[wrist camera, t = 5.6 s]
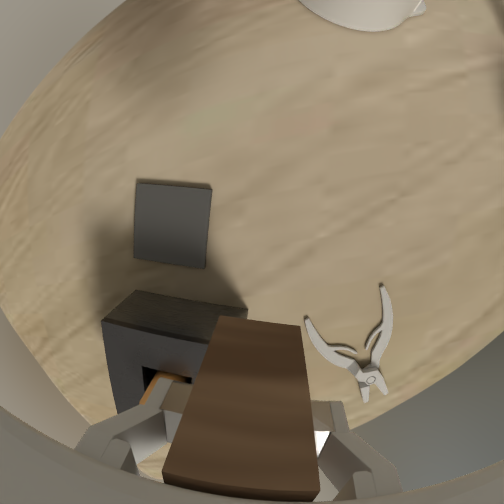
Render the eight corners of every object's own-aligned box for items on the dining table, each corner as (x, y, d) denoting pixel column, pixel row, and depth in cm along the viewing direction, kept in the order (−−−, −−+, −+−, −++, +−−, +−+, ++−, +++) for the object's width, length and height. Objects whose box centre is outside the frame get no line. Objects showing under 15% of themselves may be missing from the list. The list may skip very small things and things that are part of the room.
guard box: (135, 289, 31) (101, 320, 24) (248, 309, 31) (240, 350, 23) (141, 376, 35) (118, 415, 27) (236, 396, 34) (228, 442, 27)
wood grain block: (219, 315, 12) (161, 471, 5) (300, 325, 12) (320, 490, 5) (215, 376, 13) (173, 518, 6) (285, 385, 13) (287, 533, 6)
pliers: (388, 288, 28) (410, 383, 31) (384, 283, 30) (406, 376, 32) (303, 325, 30) (341, 412, 33) (302, 318, 31) (339, 404, 34)
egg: (159, 356, 28) (137, 392, 22) (192, 363, 28) (175, 402, 22) (160, 381, 29) (141, 418, 23) (191, 389, 28) (177, 427, 23)
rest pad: (139, 183, 28) (136, 183, 28) (212, 189, 28) (211, 189, 28) (135, 256, 30) (133, 257, 30) (204, 267, 30) (203, 268, 30)
